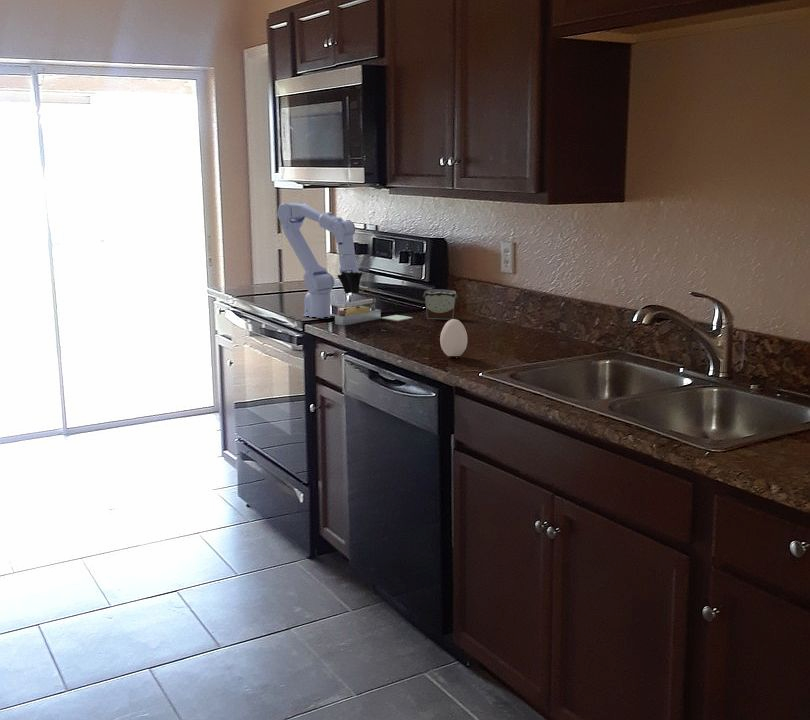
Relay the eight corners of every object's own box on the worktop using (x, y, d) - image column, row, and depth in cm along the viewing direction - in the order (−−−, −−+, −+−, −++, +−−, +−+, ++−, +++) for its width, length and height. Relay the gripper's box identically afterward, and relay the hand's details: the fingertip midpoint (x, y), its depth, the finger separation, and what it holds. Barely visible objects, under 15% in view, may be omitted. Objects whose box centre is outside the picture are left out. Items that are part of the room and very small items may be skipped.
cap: (346, 312, 322) (346, 306, 321) (360, 310, 327) (360, 304, 326) (356, 314, 318) (356, 308, 318) (370, 312, 323) (369, 305, 323)
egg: (450, 353, 270) (451, 315, 268) (472, 357, 266) (473, 318, 263) (434, 357, 264) (434, 319, 262) (456, 361, 260) (457, 322, 257)
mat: (381, 318, 328) (381, 317, 328) (396, 315, 334) (396, 314, 334) (397, 321, 323) (397, 320, 323) (412, 318, 329) (412, 317, 329)
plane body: (335, 324, 318) (334, 307, 316) (372, 317, 331) (372, 301, 330) (343, 325, 315) (342, 308, 314) (380, 318, 329) (380, 302, 327)
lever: (340, 306, 317) (340, 303, 317) (372, 301, 329) (372, 298, 329) (345, 307, 316) (345, 304, 315) (377, 302, 327) (377, 298, 327)
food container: (457, 316, 333) (458, 289, 331) (456, 319, 327) (457, 292, 325) (424, 316, 334) (424, 289, 332) (423, 318, 328) (423, 291, 326)
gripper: (364, 252, 314) (369, 291, 316) (350, 254, 328) (355, 291, 330) (345, 255, 312) (350, 294, 314) (332, 256, 325) (337, 294, 327)
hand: (352, 293), depth 321 cm, fingers open, 7 cm apart
